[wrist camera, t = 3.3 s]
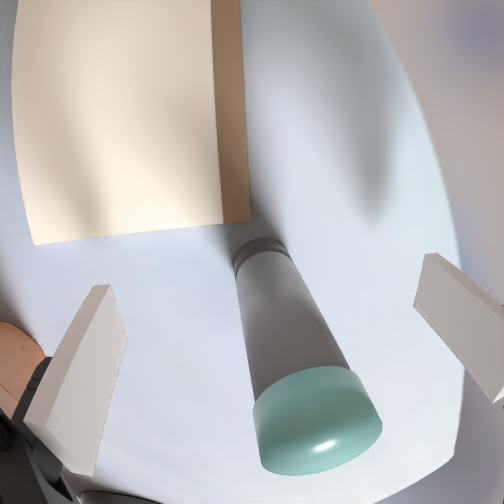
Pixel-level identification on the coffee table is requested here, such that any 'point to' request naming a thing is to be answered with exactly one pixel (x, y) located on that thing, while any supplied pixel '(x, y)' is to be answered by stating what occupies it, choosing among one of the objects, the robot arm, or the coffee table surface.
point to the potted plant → (16, 365)
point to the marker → (297, 370)
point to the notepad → (129, 116)
